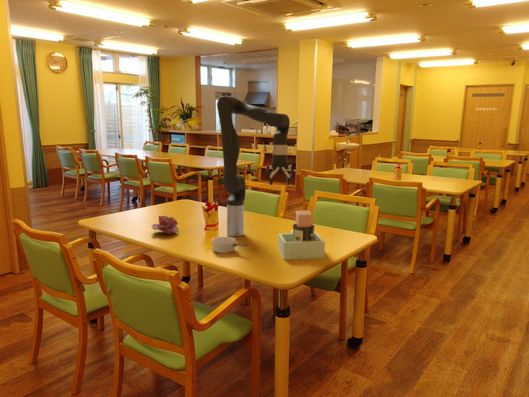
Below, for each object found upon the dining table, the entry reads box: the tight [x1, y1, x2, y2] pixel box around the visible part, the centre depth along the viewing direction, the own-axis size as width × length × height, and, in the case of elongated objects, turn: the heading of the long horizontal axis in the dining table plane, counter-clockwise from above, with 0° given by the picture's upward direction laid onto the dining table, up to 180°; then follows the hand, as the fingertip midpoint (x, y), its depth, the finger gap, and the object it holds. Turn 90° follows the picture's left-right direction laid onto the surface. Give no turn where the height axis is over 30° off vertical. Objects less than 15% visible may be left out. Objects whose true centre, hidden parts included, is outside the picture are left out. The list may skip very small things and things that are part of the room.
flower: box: [151, 215, 179, 235], centre depth 231 cm, size 15×15×10 cm
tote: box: [277, 232, 326, 260], centre depth 198 cm, size 19×15×8 cm
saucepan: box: [211, 236, 249, 254], centre depth 200 cm, size 12×20×6 cm, turn 56°
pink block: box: [294, 209, 313, 227], centre depth 195 cm, size 6×6×7 cm
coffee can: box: [292, 223, 315, 242], centre depth 197 cm, size 10×10×14 cm
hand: (279, 185), depth 213 cm, fingers open, 8 cm apart
